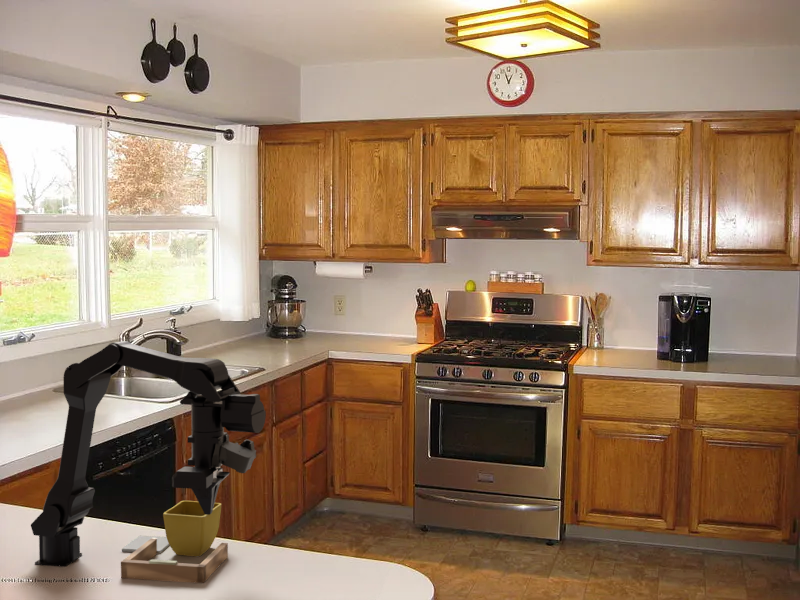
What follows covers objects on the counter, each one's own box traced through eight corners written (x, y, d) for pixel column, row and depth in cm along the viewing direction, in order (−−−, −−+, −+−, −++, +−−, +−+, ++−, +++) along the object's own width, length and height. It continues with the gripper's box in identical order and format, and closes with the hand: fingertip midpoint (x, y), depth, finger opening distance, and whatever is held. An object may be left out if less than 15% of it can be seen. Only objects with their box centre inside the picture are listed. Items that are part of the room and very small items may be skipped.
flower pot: (204, 562, 163) (203, 516, 163) (162, 558, 165) (161, 513, 164) (222, 546, 172) (222, 503, 171) (182, 543, 173) (182, 500, 173)
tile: (121, 551, 168) (121, 547, 168) (139, 538, 176) (139, 534, 176) (160, 553, 167) (160, 550, 167) (176, 540, 175) (176, 536, 175)
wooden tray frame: (151, 553, 167) (150, 536, 167) (227, 558, 165) (227, 541, 165) (121, 577, 155) (120, 559, 155) (203, 583, 153) (203, 565, 152)
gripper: (232, 442, 143) (233, 533, 144) (266, 420, 161) (266, 501, 162) (170, 440, 144) (171, 529, 145) (210, 418, 163) (210, 498, 164)
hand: (208, 514), depth 154 cm, fingers closed
